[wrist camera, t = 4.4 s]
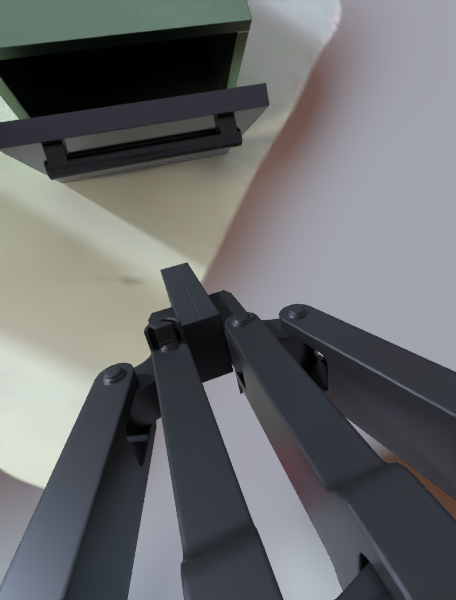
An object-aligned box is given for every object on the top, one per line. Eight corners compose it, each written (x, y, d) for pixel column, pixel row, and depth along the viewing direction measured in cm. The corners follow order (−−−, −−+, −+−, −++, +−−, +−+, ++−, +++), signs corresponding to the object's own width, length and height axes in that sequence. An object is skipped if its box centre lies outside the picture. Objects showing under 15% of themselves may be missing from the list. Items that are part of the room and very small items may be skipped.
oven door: (230, 171, 40) (274, 135, 25) (68, 202, 37) (8, 183, 22) (224, 139, 39) (266, 82, 24) (57, 168, 36) (-14, 123, 21)
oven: (223, 139, 40) (252, 19, 24) (57, 168, 36) (-36, 51, 21) (190, 19, 40) (198, -178, 24) (24, 37, 37) (-94, -178, 21)
